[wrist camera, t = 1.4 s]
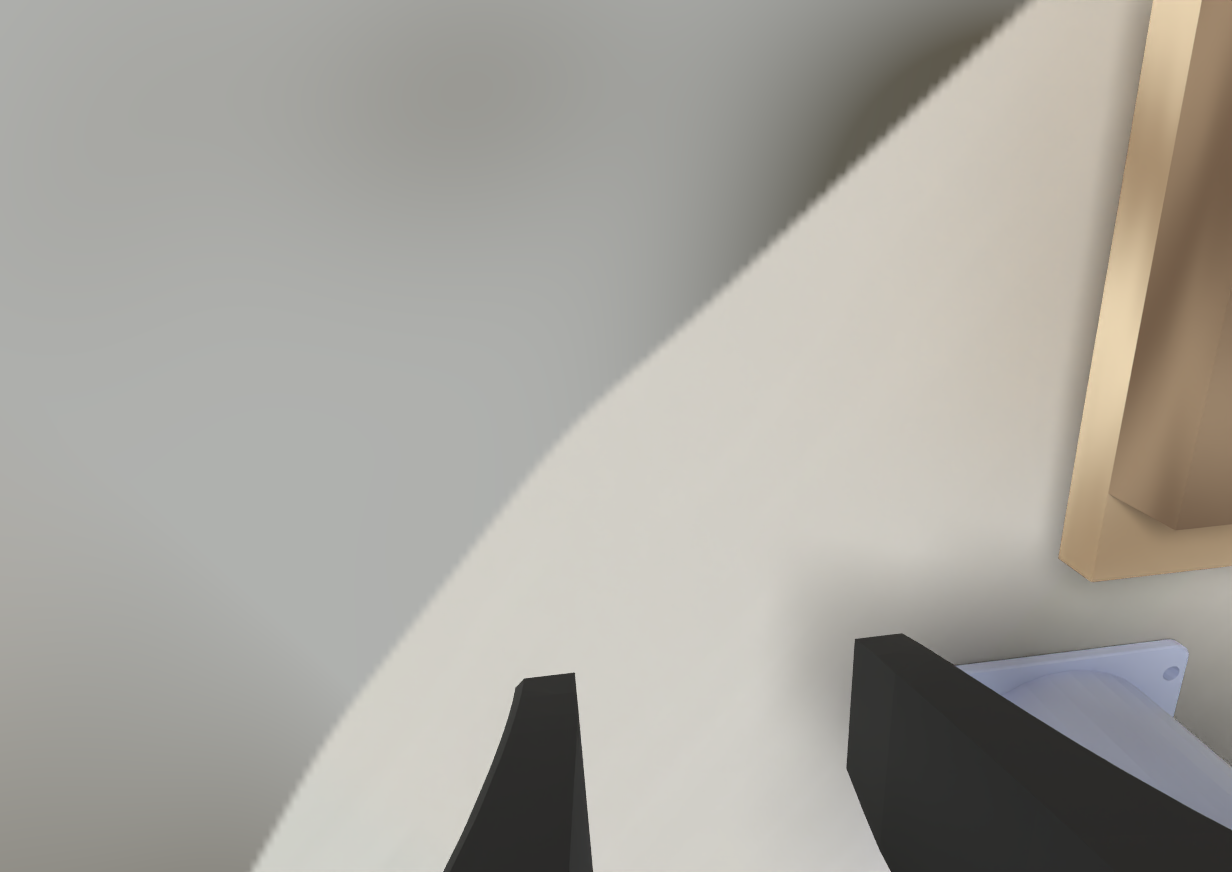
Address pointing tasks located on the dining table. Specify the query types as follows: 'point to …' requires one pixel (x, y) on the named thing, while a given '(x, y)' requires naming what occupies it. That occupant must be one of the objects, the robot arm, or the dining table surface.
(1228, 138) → the lid
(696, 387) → the dining table surface
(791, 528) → the dining table surface
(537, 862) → the robot arm
